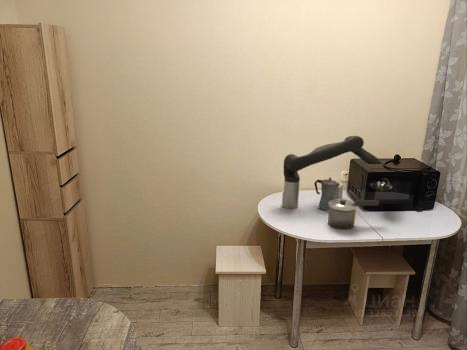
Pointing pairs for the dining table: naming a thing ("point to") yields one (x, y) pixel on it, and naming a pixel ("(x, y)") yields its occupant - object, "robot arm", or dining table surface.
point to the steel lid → (350, 204)
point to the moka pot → (326, 192)
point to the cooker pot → (341, 219)
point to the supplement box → (338, 192)
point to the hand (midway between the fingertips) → (378, 189)
